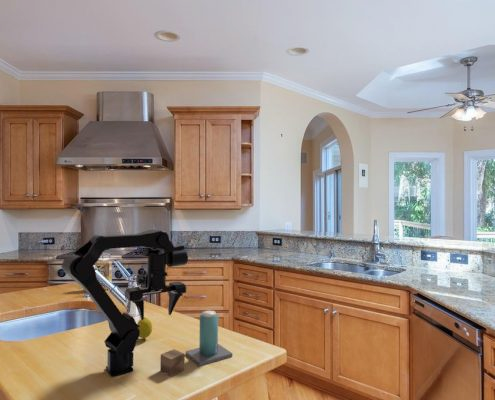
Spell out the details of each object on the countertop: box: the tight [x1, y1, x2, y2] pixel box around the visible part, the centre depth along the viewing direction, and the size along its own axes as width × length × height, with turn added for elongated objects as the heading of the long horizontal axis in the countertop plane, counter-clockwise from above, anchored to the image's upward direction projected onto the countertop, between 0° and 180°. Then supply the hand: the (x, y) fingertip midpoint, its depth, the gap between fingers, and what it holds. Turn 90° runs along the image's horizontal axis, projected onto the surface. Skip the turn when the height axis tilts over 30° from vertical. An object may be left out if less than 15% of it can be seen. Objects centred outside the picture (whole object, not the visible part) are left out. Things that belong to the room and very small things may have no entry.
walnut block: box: [160, 348, 186, 377], centre depth 107 cm, size 5×5×5 cm
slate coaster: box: [184, 343, 233, 366], centre depth 117 cm, size 12×10×1 cm
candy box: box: [93, 261, 113, 291], centre depth 202 cm, size 9×4×15 cm, turn 93°
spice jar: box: [198, 310, 219, 356], centre depth 117 cm, size 6×6×13 cm
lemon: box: [136, 316, 153, 340], centre depth 130 cm, size 6×6×8 cm
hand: (156, 317), depth 115 cm, fingers open, 9 cm apart
